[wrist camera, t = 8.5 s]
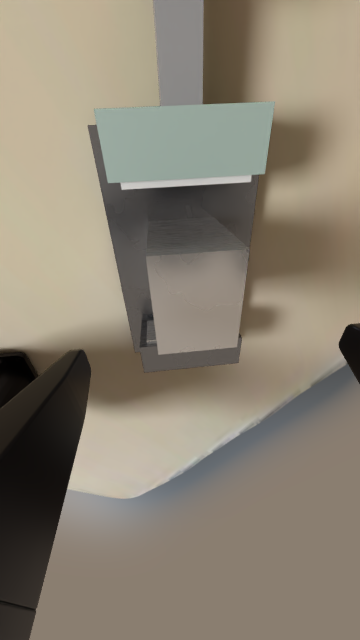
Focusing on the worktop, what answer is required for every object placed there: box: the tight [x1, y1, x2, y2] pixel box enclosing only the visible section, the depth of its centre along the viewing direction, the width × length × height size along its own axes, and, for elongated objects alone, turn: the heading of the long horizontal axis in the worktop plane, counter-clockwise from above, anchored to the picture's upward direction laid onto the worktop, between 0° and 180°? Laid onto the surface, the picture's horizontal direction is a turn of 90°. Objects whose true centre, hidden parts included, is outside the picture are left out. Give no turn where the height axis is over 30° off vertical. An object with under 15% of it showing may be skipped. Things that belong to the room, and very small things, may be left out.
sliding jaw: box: [94, 0, 275, 190], centre depth 8 cm, size 9×7×4 cm
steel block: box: [146, 217, 250, 355], centre depth 13 cm, size 5×4×6 cm
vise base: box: [88, 125, 259, 373], centre depth 15 cm, size 15×9×4 cm, turn 3°
